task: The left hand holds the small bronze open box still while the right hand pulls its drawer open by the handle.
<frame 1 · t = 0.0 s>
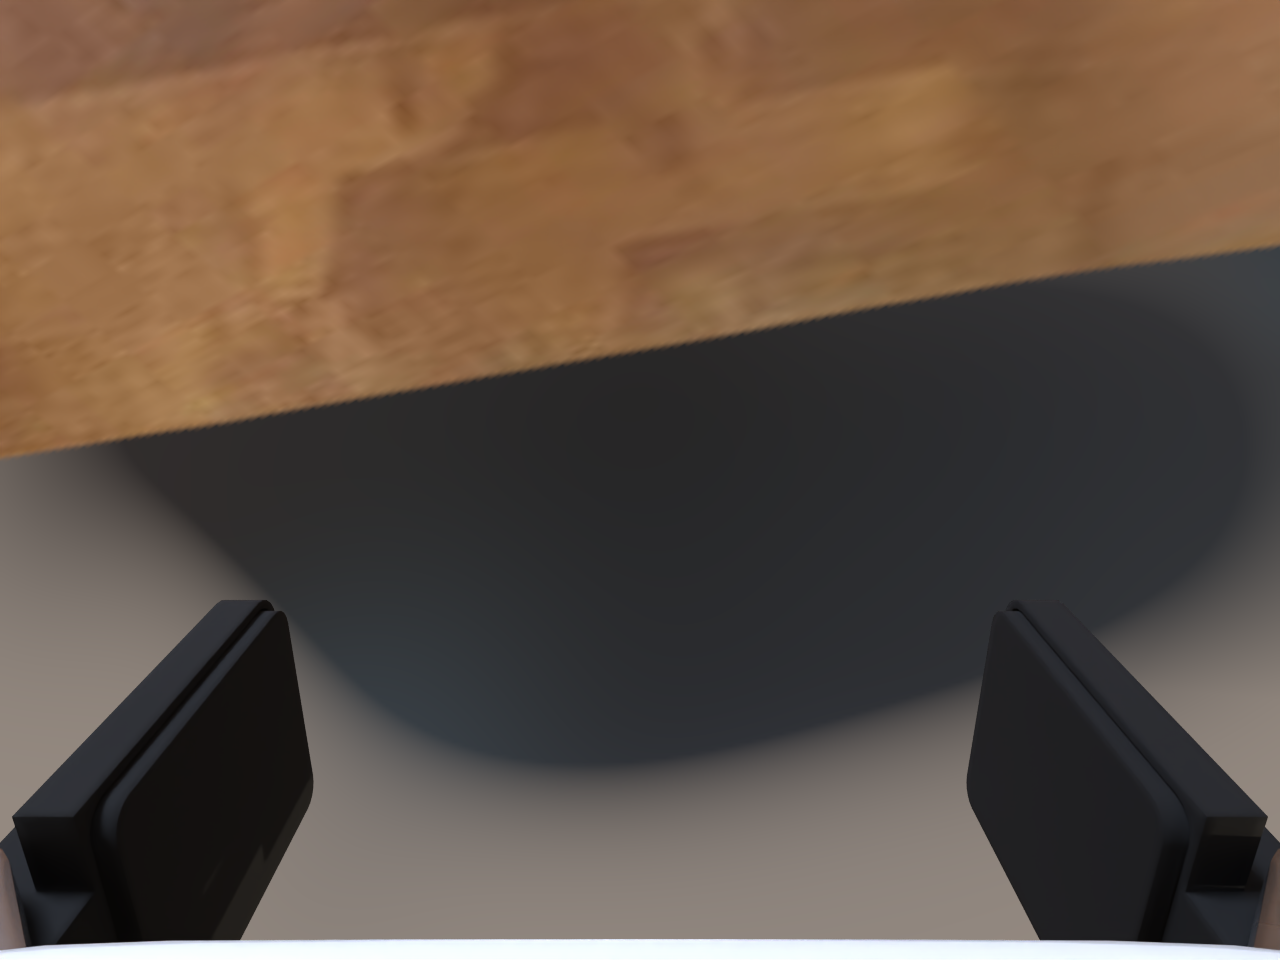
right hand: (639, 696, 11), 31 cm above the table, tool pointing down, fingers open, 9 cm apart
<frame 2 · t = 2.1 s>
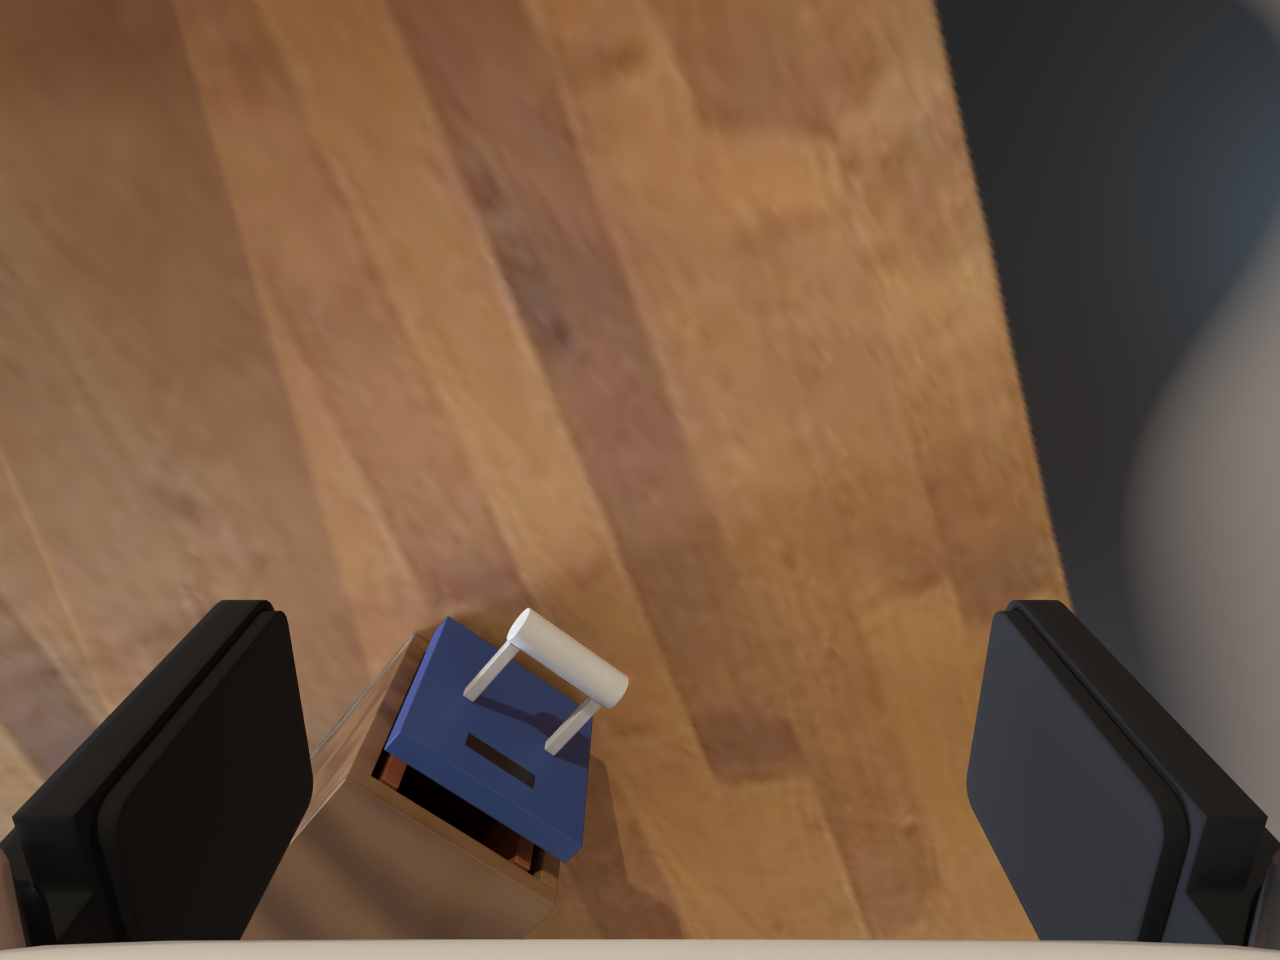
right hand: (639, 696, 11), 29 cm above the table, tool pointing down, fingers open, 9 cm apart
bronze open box: (408, 784, 47), on the table
drawer: (447, 789, 40), point 6 cm above the table, slide at 1.3 cm
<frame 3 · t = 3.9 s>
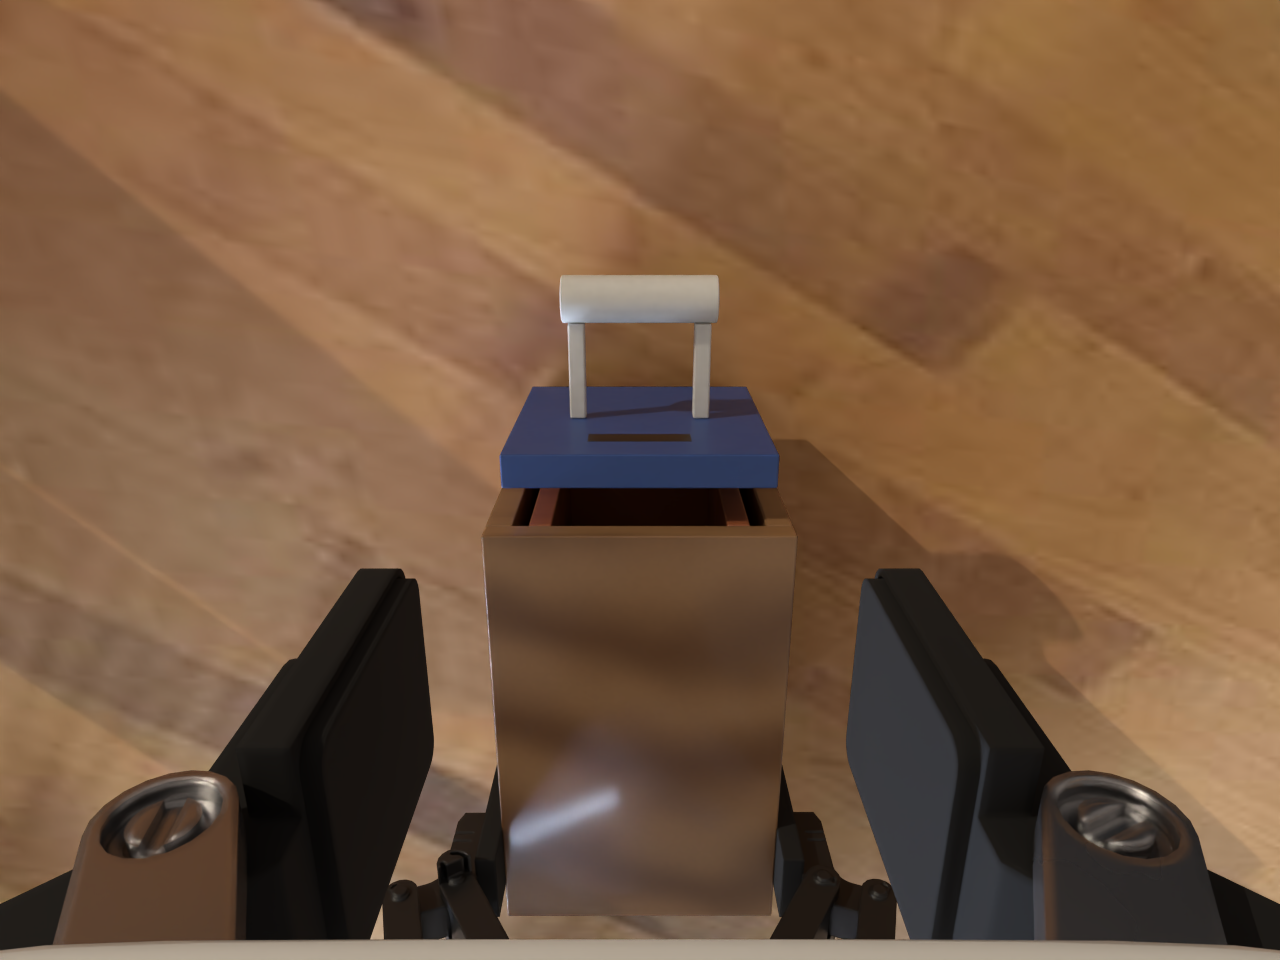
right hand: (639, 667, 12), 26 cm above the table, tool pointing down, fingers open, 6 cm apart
left hand: (639, 770, 37), fingers closed on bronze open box, 10 cm apart
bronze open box: (639, 597, 41), on the table, touching left hand
drawer: (639, 536, 34), point 6 cm above the table, slide at 1.3 cm
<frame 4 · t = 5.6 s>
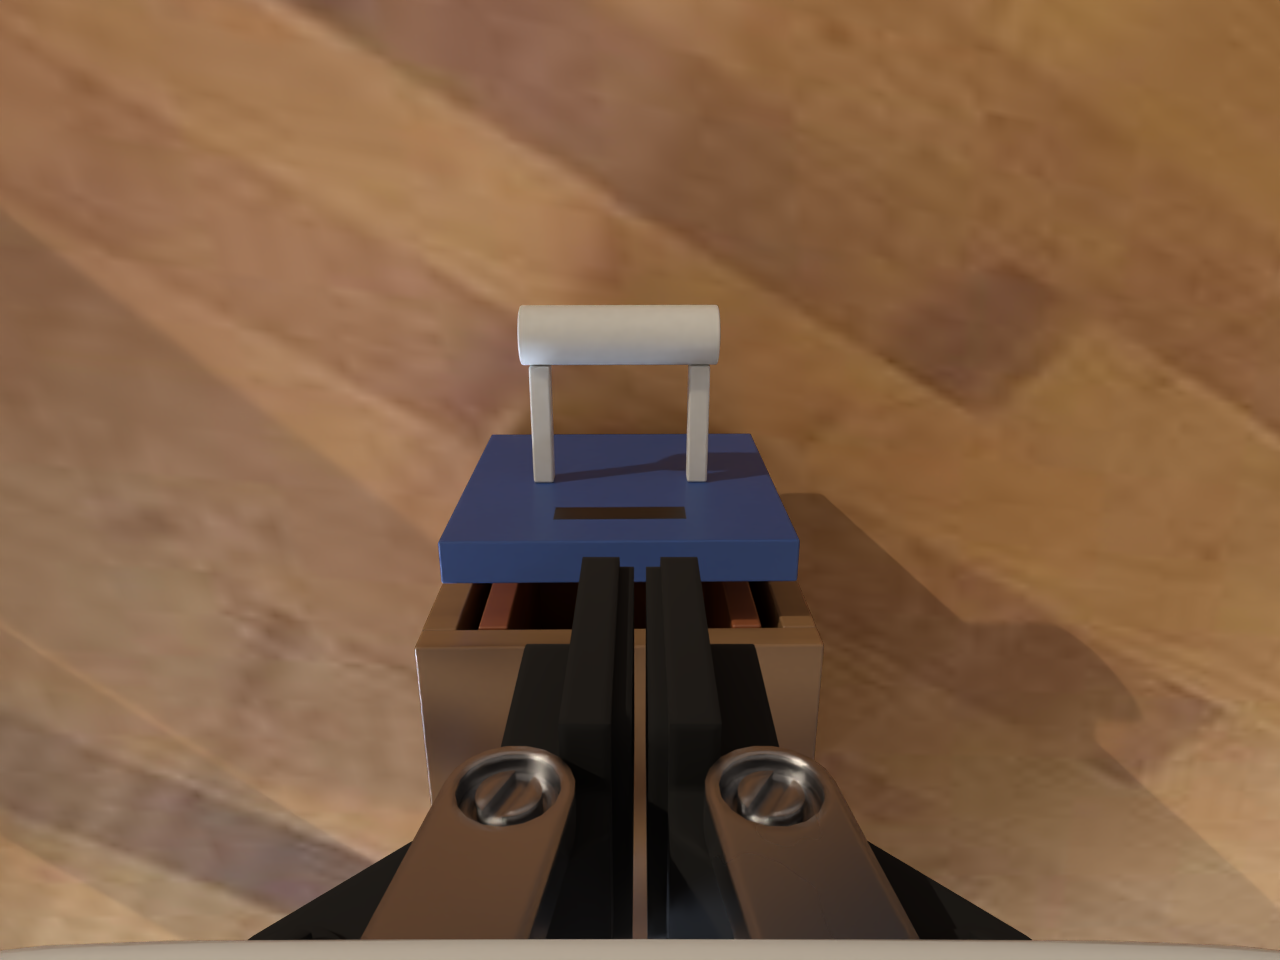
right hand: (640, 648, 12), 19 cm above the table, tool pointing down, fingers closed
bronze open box: (623, 676, 35), on the table, touching left hand
drawer: (621, 622, 28), point 6 cm above the table, slide at 1.3 cm
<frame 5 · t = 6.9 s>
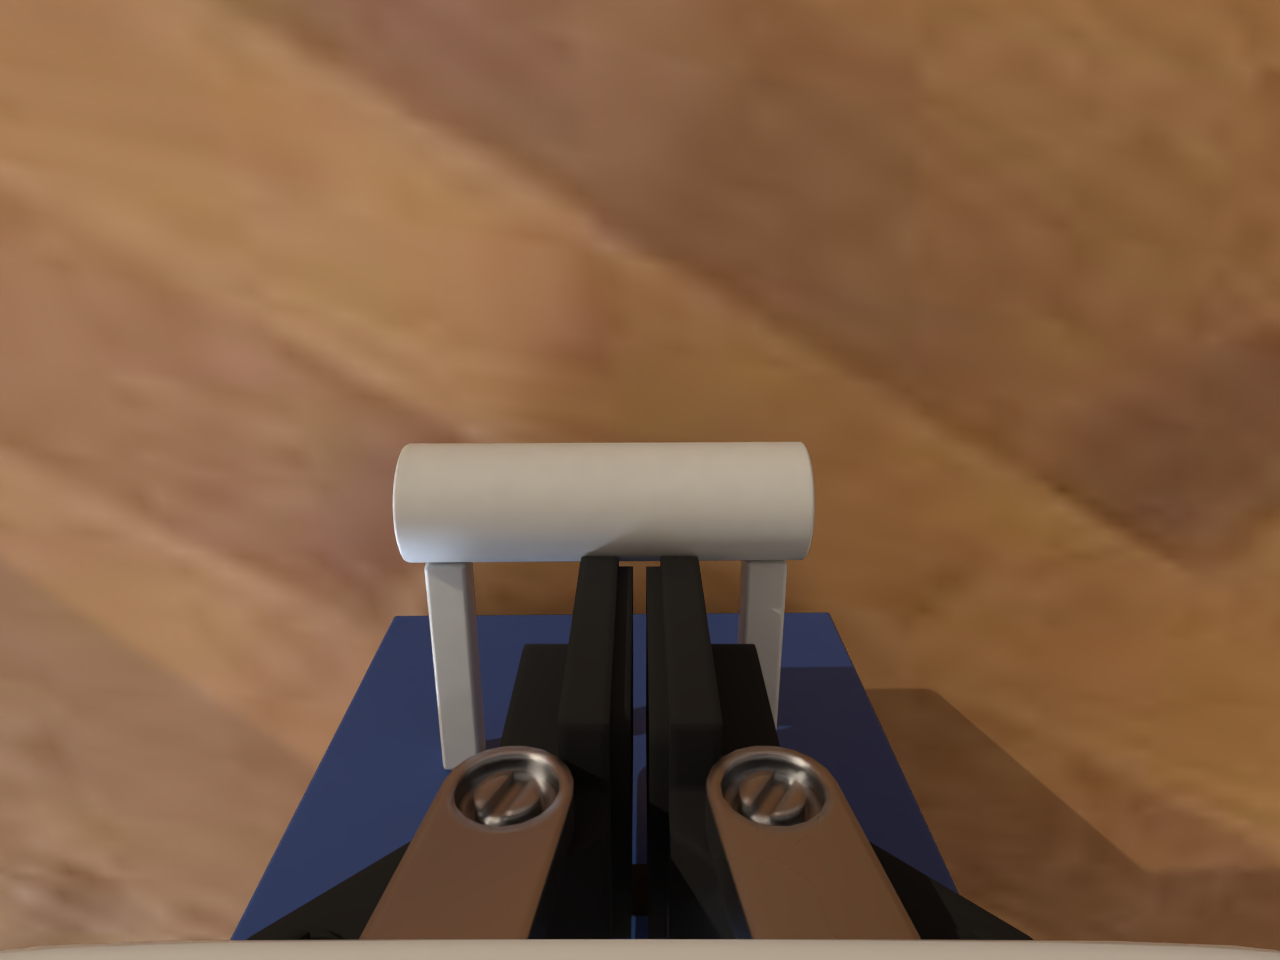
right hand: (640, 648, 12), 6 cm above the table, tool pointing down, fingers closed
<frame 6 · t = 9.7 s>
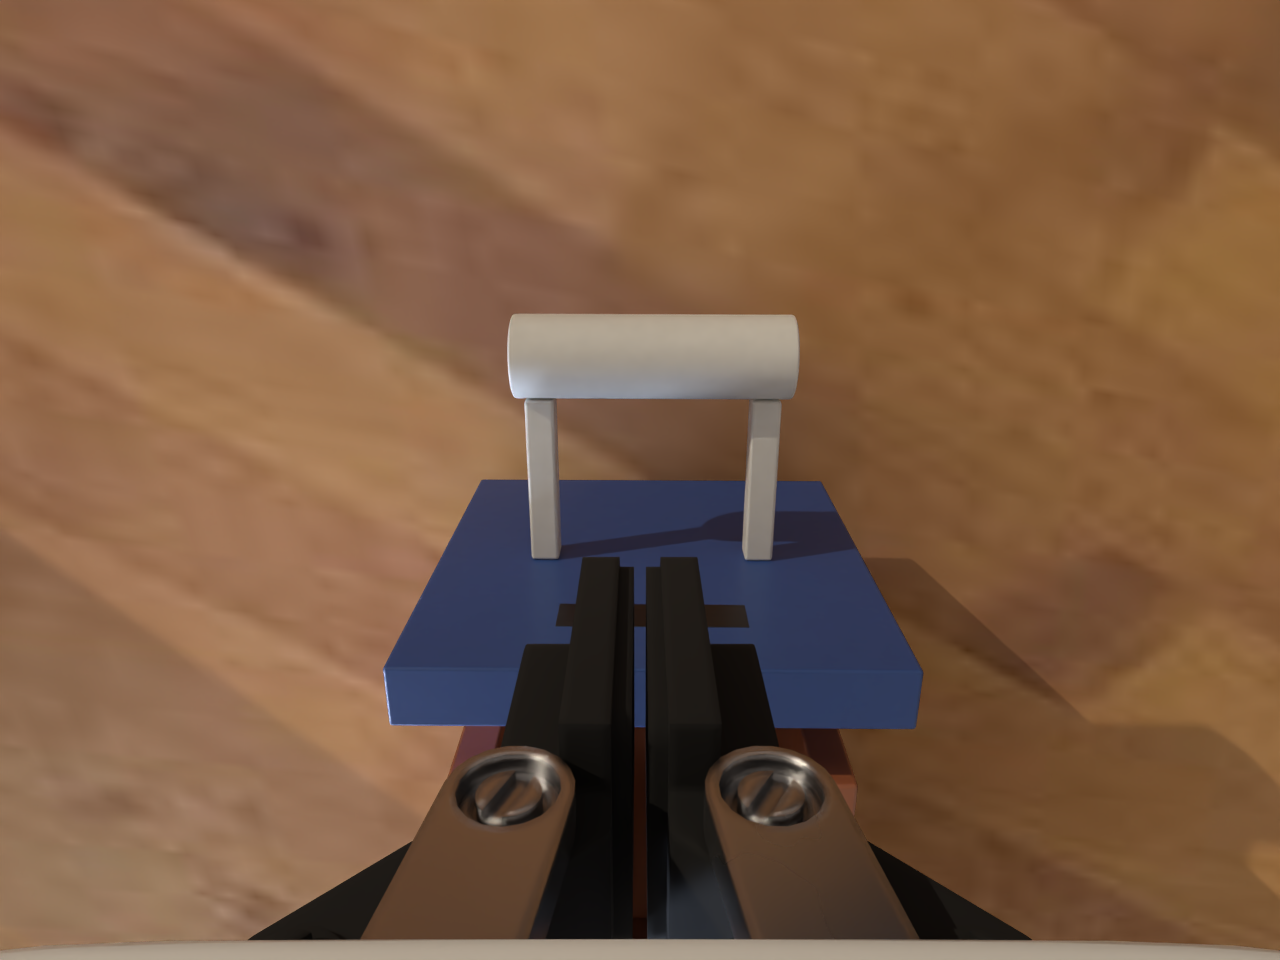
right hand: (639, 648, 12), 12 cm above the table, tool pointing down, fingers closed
drawer: (650, 740, 21), point 6 cm above the table, slide at 9.6 cm
when the left hand's fingers open (6 cm above the table, at t = 10.6 s): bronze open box stays where it is, on the table.
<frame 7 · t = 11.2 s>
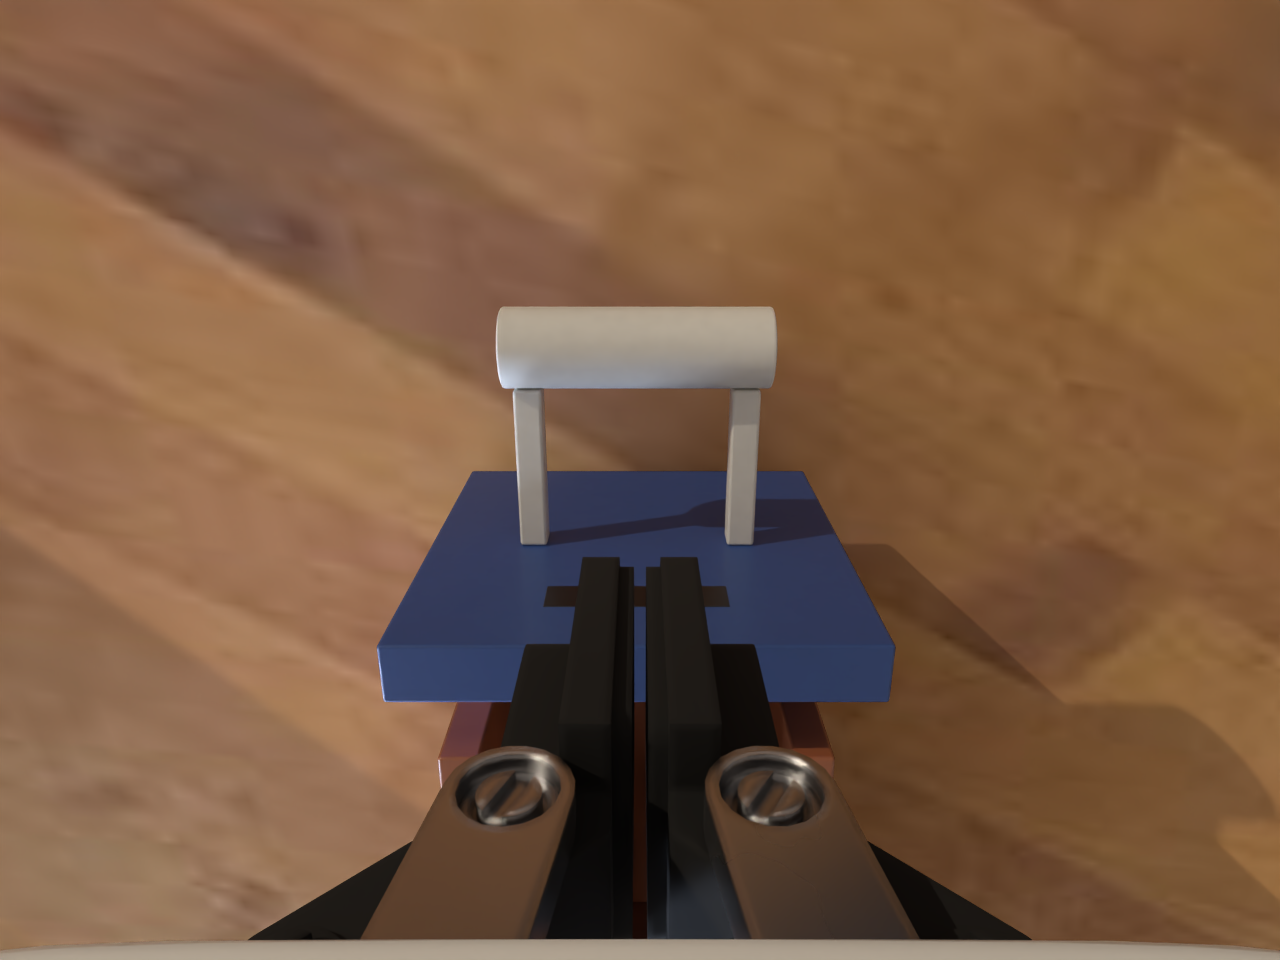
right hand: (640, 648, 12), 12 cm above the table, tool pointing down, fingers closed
drawer: (637, 722, 21), point 6 cm above the table, slide at 9.6 cm
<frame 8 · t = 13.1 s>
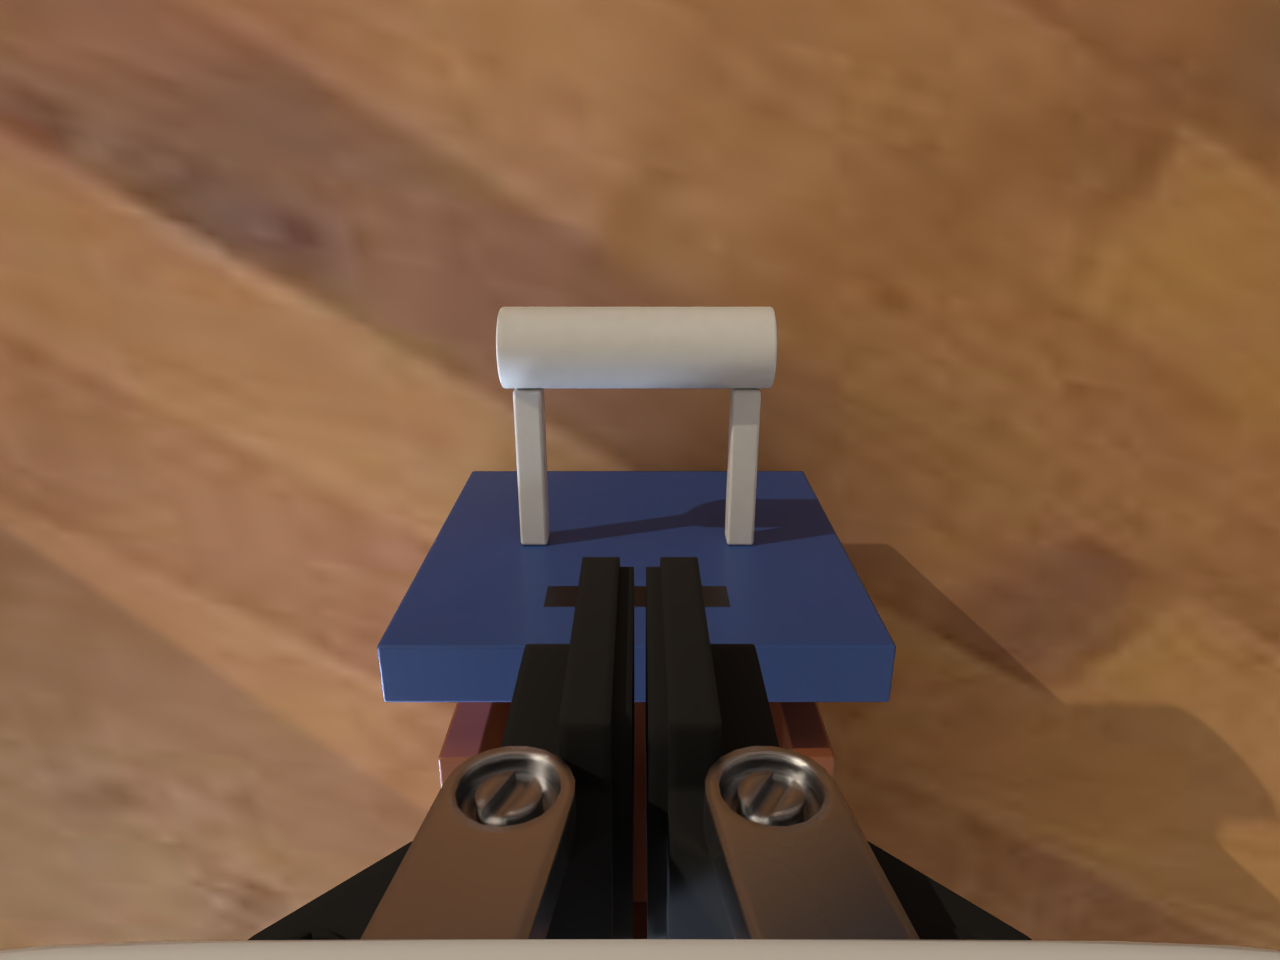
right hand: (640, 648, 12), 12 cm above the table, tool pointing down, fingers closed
drawer: (637, 722, 21), point 6 cm above the table, slide at 9.6 cm
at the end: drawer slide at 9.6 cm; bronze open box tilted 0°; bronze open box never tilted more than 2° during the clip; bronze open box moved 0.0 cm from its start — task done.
